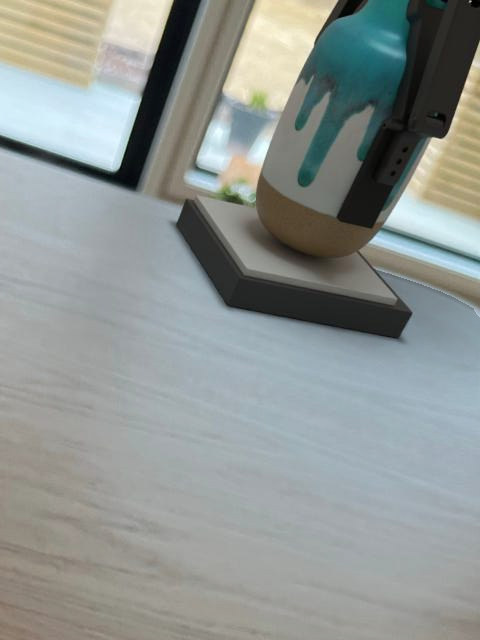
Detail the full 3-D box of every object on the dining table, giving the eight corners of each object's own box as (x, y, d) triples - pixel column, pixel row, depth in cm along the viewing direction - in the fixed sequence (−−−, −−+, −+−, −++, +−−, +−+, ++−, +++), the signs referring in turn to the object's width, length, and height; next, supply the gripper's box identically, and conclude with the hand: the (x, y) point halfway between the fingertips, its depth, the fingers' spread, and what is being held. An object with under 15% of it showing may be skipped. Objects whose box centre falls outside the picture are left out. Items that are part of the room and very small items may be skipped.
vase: (278, 272, 77) (414, -21, 64) (213, 207, 83) (324, -69, 71) (387, 285, 81) (535, 13, 68) (317, 223, 88) (440, -36, 75)
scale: (331, 257, 91) (346, 226, 89) (398, 338, 81) (417, 305, 80) (175, 224, 87) (188, 190, 85) (227, 305, 77) (243, 270, 75)
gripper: (365, -207, 72) (233, 124, 86) (538, -145, 56) (340, 249, 70) (455, -174, 74) (312, 144, 88) (646, -104, 58) (433, 270, 72)
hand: (324, 191), depth 79 cm, fingers closed on vase, 11 cm apart
